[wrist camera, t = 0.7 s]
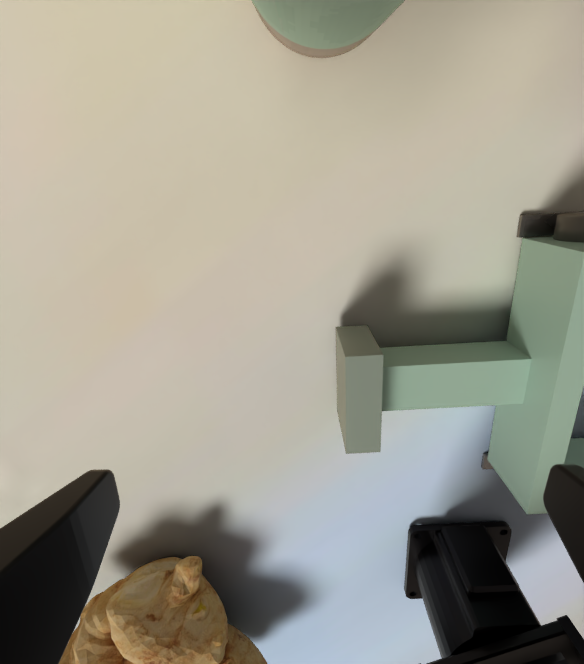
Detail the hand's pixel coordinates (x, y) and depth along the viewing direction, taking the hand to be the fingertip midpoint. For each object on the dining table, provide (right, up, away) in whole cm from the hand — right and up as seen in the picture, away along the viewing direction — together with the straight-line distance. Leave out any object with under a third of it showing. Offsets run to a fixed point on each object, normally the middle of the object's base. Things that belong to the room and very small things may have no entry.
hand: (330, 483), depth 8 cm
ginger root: (-10, -17, +20) cm, 28 cm away
